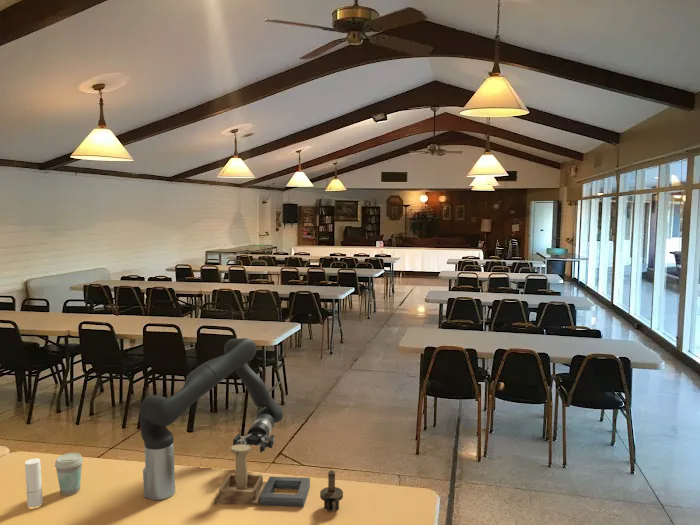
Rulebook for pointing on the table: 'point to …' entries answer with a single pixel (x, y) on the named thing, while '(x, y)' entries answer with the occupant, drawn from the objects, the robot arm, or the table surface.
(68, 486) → the coffee cup
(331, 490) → the industrial component
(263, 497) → the socket block
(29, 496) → the tube
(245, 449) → the handle
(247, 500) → the tray
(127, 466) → the table surface
